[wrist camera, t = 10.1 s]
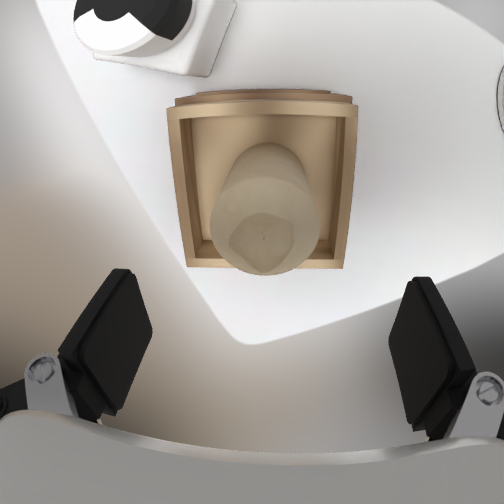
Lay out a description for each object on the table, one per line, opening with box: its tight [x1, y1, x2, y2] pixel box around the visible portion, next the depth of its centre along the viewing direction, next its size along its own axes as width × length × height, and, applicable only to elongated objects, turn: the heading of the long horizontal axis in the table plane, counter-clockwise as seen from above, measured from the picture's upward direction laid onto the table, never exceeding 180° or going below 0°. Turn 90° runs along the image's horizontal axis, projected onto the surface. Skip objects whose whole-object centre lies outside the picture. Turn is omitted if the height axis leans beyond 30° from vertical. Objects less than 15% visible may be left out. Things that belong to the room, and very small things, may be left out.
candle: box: [209, 143, 320, 275], centre depth 18 cm, size 6×6×10 cm
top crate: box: [166, 99, 358, 269], centre depth 21 cm, size 12×12×4 cm
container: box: [74, 0, 237, 77], centre depth 15 cm, size 8×8×13 cm
